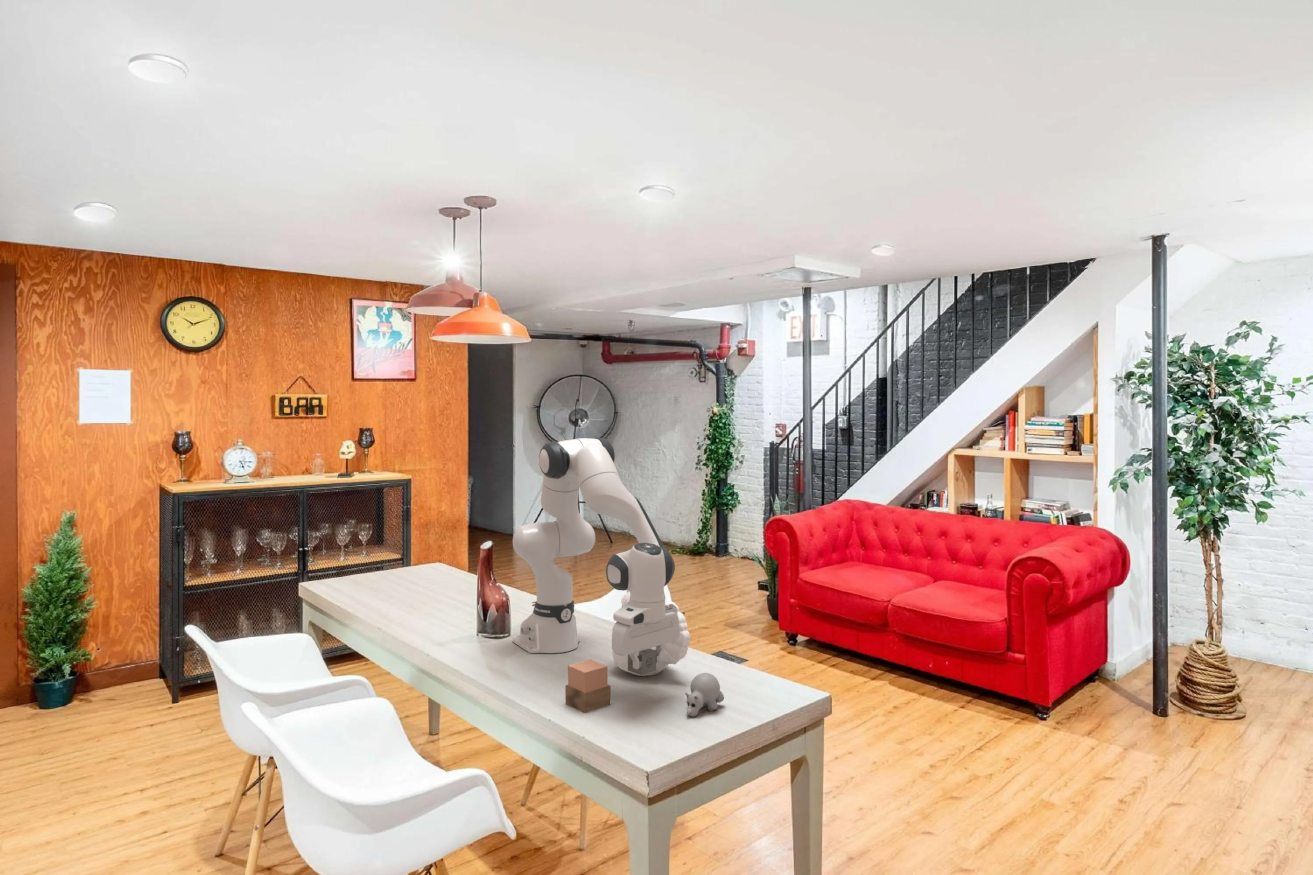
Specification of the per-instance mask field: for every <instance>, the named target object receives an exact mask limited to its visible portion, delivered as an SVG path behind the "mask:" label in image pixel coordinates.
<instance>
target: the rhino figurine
mask: <svg viewBox="0 0 1313 875" xmlns="http://www.w3.org/2000/svg"><path fill="white" fill-rule="evenodd" d="M684 694H685V696H686V704H687V706H686V713H687V715H689V716H690V717H691V718H694V717H696V716H698V714H699V711H700V709H702V708H705V707H707V709H708V711H710V712H713V711H716V710H718V708H719V706H718V703H721V702H723V701H724V699H725V696H724V693H723V692H722V691H721V685H720V682H719V680H718V678H717V677H716V676H715V675H714V674H711V673H708V672H702V673H699V674H697V675H696V676H695V677H694V678H693V679H692V681H691V683H690V693H688V692H685V693H684Z"/></svg>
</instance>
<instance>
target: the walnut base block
mask: <svg viewBox="0 0 1313 875" xmlns="http://www.w3.org/2000/svg"><path fill="white" fill-rule="evenodd" d="M611 688H612V687H611V685H610V684H608V686H607V687H603V688H600V689H597V690H593V691H590V692H587V693H583V692H581V691H579V690H577V689H575V688H573V687H571V686H568V683H567V684H565V688H564V690H565V693H564V695H565V697H564V699H565V703H564V704H565V705H567V706H569V707H571V708H573V709H575V710H577V711H579V712H582V713H583V714H587V713H590V712H593V711H596V710H598V709H602V708H605V707H608V706H610V705H611V699H612V698H611V692H612V691H611Z"/></svg>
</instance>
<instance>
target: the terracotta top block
mask: <svg viewBox="0 0 1313 875" xmlns="http://www.w3.org/2000/svg"><path fill="white" fill-rule="evenodd" d="M608 673H609V672H608V665H605V664H602V663H600V662H598V661H595V660H593V659H587V660H584V661H580V662H576V663H572V664H569V665H567V684H568V686H571V687H573V688H575V689H577V690H579V691H581V692H583V693H587V692H590V691H593V690H597V689H600V688H603V687H607V686H608V685H609V684H608V680H609V679H608V675H609V674H608Z"/></svg>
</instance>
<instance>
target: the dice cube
mask: <svg viewBox="0 0 1313 875" xmlns="http://www.w3.org/2000/svg"><path fill="white" fill-rule="evenodd" d="M637 657H638V659H639V660H640V661H642V667H641V668H639V669H635V668H633V661H632V659H631V657H630V655H628V671H631V672H634V673H637V674H640V675H644V674H647V673H650V672H652V671H655V670H656V650H653V649H650V648H649V649H646V650H642V651H639V656H637Z"/></svg>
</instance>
